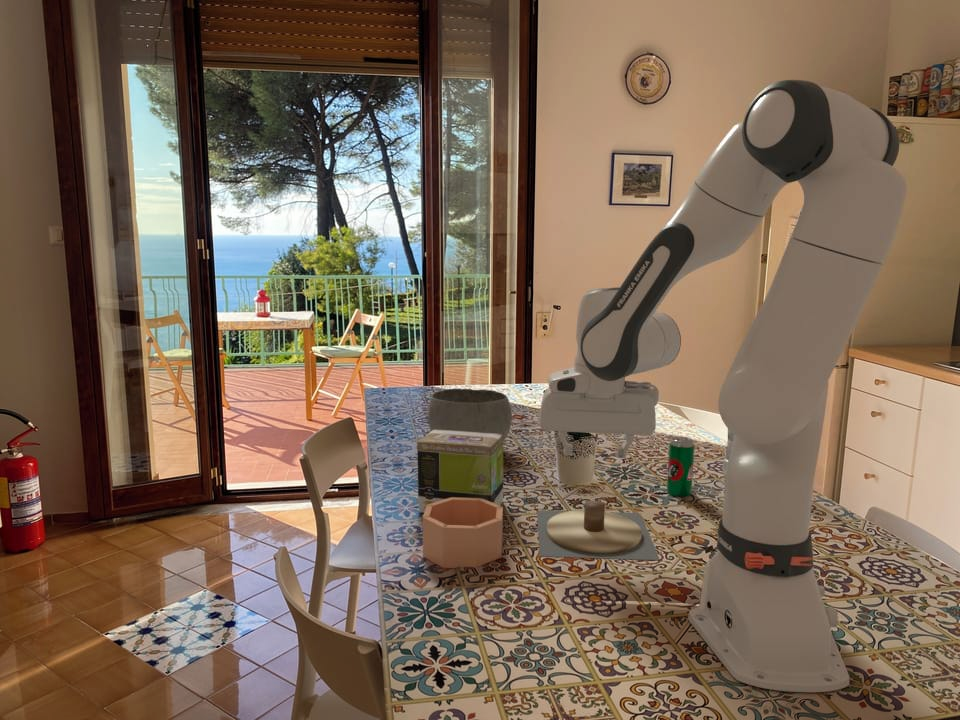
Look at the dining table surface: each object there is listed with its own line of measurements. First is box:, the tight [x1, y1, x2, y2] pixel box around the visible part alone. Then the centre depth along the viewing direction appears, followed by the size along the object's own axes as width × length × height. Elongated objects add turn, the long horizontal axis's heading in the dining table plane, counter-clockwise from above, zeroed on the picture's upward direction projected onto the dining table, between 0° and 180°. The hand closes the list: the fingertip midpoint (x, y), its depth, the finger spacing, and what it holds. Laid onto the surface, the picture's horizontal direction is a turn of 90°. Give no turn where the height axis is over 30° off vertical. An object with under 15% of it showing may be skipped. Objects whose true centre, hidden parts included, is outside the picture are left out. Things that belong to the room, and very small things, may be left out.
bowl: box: [427, 388, 513, 442], centre depth 174 cm, size 20×20×15 cm
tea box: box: [416, 429, 504, 514], centre depth 139 cm, size 15×10×15 cm
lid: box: [547, 500, 642, 554], centre depth 127 cm, size 17×17×6 cm
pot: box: [422, 497, 504, 569], centre depth 121 cm, size 13×13×7 cm
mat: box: [536, 509, 661, 561], centre depth 128 cm, size 20×20×1 cm
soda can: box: [666, 436, 696, 498], centre depth 147 cm, size 5×5×12 cm
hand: (594, 455), depth 126 cm, fingers open, 8 cm apart
